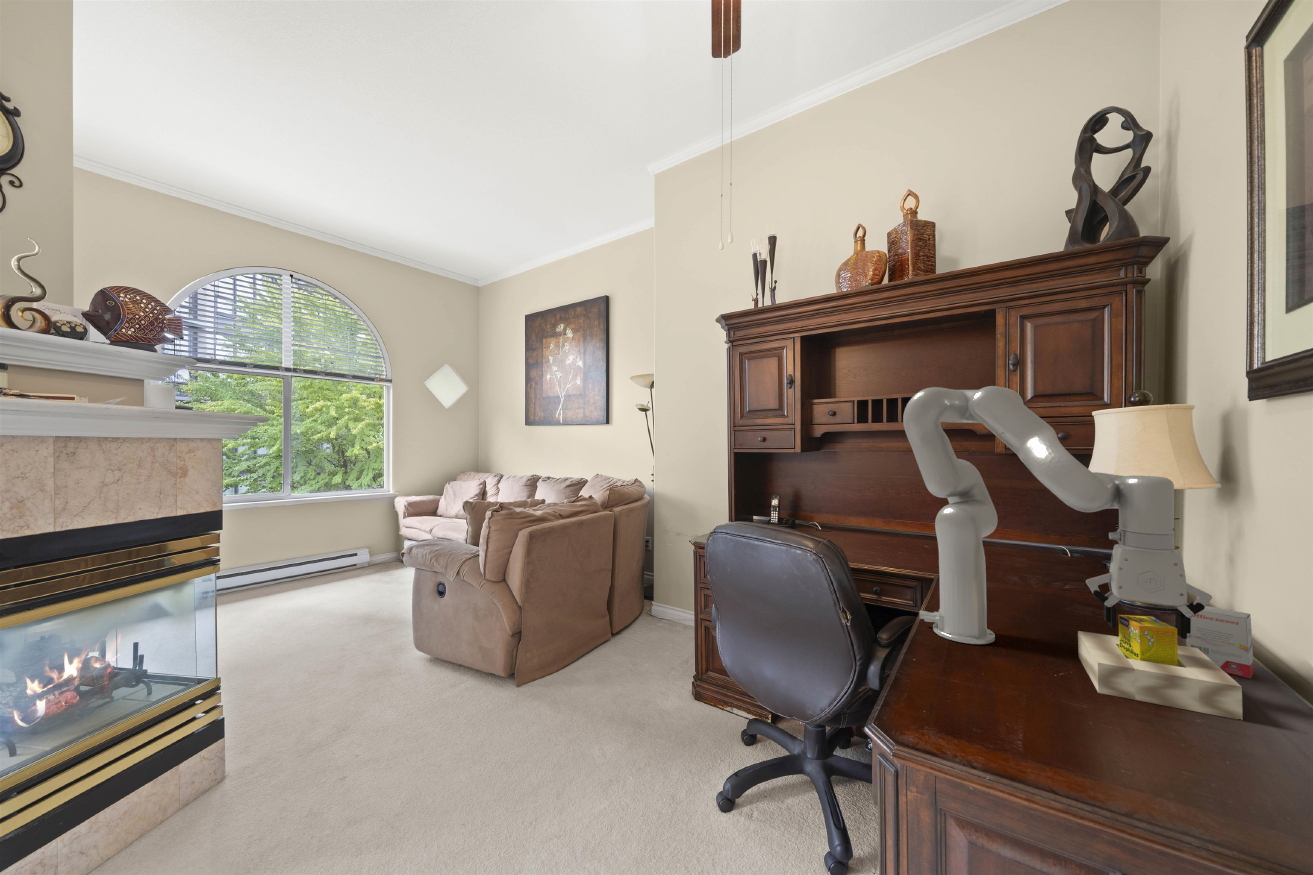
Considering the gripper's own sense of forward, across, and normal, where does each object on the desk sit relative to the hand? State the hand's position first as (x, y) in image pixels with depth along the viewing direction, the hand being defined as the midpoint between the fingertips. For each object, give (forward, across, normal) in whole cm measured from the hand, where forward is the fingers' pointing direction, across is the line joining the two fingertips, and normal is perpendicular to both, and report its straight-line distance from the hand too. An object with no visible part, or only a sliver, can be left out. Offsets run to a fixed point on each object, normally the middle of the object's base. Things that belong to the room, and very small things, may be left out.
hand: (1145, 630), depth 95 cm
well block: (+10, +1, 0) cm, 10 cm away
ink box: (+10, +15, +16) cm, 24 cm away
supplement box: (+9, 0, 0) cm, 9 cm away
